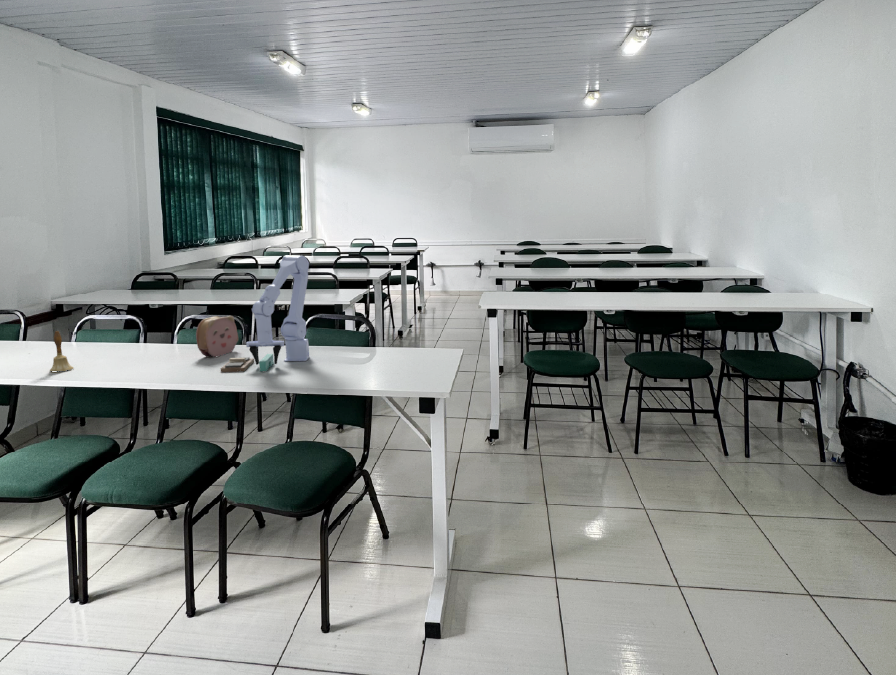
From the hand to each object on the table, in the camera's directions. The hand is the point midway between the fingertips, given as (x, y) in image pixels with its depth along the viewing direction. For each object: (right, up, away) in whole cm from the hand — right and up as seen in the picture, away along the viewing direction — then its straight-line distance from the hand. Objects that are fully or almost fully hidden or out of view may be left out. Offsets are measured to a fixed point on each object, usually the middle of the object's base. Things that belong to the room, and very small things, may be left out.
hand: (266, 363), depth 241 cm
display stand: (-12, -1, +1) cm, 12 cm away
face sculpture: (-29, +3, +25) cm, 38 cm away
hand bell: (-82, -3, -1) cm, 82 cm away
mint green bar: (0, -1, 0) cm, 1 cm away
